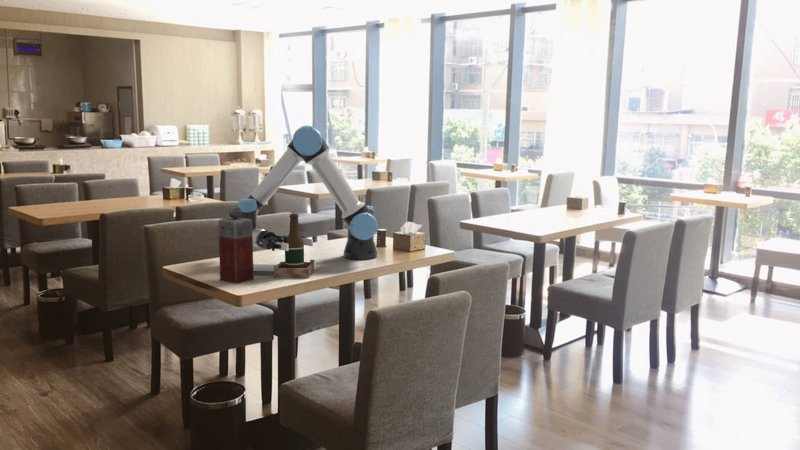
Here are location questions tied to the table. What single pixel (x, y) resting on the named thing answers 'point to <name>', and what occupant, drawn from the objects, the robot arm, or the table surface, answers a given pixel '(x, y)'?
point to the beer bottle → (294, 245)
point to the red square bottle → (235, 248)
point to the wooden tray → (294, 270)
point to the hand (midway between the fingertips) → (300, 245)
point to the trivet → (263, 269)
